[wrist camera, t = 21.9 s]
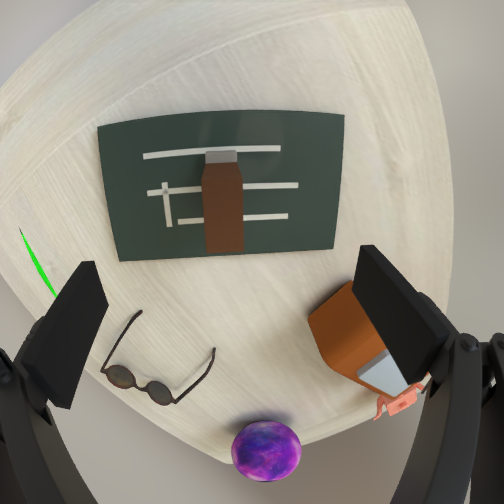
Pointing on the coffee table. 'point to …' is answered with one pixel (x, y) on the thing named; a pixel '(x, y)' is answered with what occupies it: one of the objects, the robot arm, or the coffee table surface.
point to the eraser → (222, 202)
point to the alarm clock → (355, 345)
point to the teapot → (398, 401)
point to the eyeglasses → (154, 388)
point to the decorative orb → (266, 451)
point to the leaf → (38, 267)
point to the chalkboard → (252, 170)
